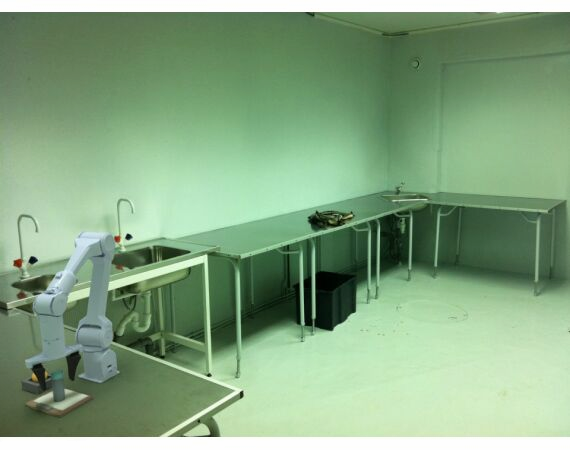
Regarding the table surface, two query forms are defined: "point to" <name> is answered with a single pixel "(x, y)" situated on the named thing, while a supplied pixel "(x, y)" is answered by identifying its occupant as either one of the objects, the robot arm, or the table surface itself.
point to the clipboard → (62, 407)
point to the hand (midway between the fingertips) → (57, 384)
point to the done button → (36, 377)
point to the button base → (36, 385)
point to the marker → (57, 385)
